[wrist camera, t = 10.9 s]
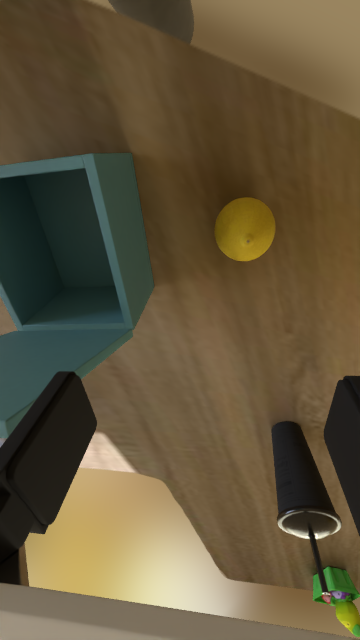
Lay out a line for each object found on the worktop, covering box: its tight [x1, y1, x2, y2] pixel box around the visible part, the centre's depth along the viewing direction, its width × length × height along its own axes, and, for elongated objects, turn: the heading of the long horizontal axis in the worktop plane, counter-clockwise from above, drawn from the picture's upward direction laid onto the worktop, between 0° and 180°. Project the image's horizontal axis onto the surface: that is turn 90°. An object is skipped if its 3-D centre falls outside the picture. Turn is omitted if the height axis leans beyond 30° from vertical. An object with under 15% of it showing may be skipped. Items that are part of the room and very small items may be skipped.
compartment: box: [0, 153, 154, 331], centre depth 27 cm, size 15×13×10 cm
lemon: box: [214, 197, 275, 261], centre depth 25 cm, size 6×6×8 cm
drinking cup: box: [272, 422, 342, 595], centre depth 37 cm, size 8×8×20 cm
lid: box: [0, 329, 133, 438], centre depth 19 cm, size 15×13×5 cm
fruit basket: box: [313, 566, 360, 637], centre depth 70 cm, size 11×9×11 cm
